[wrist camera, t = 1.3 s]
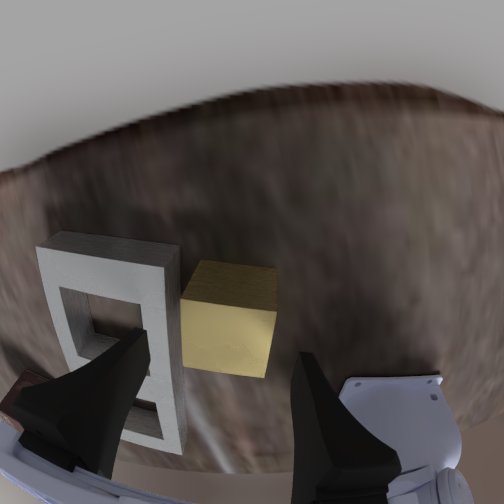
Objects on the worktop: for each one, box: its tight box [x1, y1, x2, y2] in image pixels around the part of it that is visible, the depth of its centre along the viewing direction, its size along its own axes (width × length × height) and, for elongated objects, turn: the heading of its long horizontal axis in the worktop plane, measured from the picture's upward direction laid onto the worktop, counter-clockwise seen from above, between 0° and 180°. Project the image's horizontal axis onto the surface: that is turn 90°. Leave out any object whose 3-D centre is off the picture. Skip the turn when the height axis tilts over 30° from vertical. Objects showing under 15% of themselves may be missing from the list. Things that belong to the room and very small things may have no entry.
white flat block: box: [36, 230, 188, 455], centre depth 20 cm, size 9×20×3 cm, turn 174°
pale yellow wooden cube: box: [180, 259, 277, 378], centre depth 16 cm, size 4×4×4 cm
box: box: [0, 370, 50, 434], centre depth 23 cm, size 6×6×7 cm
